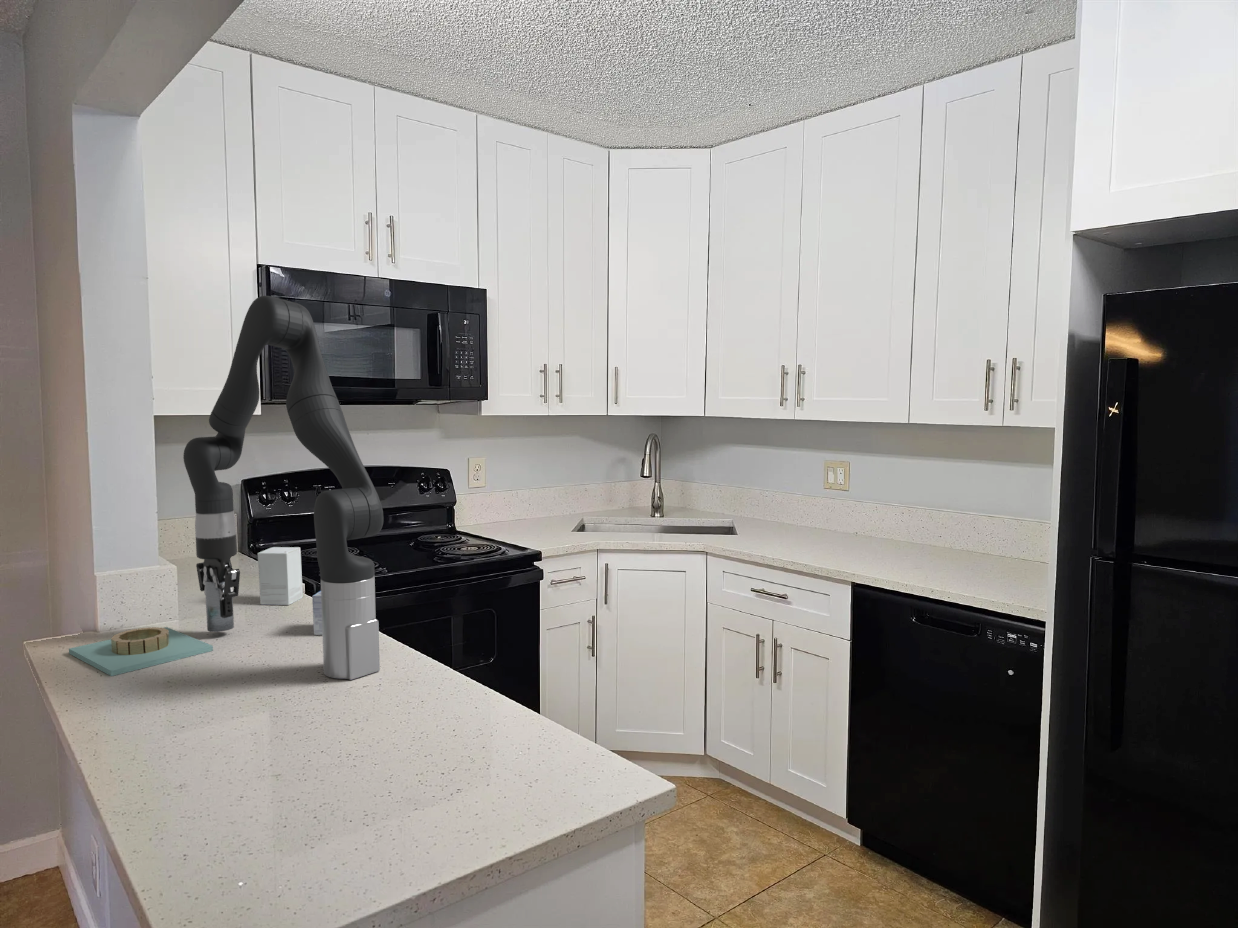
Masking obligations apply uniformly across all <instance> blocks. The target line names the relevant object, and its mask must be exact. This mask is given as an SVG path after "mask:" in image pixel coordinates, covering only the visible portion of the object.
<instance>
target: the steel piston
mask: <svg viewBox="0 0 1238 928" xmlns="http://www.w3.org/2000/svg"><path fill="white" fill-rule="evenodd" d="M220 584H225V582H222V583H220ZM223 592H224V588H223ZM204 596H205V609H206V629H207V631H208V632H211V633H212V632H213V633H220V632H226V631H229V630H232V629H234V628H235V621H234V619H235V618H234V614H233V615H232V616H231V617H227V618H222V617H221V615H220V597H219V593H218V590H216V589H215V584H214V582H212V581H210V580H209V581H205V594H204ZM233 600H234V598H232V607H233V608H234V602H233Z"/></svg>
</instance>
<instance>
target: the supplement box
mask: <svg viewBox="0 0 1238 928" xmlns="http://www.w3.org/2000/svg"><path fill="white" fill-rule="evenodd" d="M257 565H258V584H259V585H258V586H259V587H258V588H259V601H260V605H262V606H263V605H266V606H267V605H270V606H271V605H272V606H274V605H275V606H276V605H277V606H290V605H291V604H294V603H296V602H298V601H299V600H302V599H303V593H304V592H303V576H302V574H303V573H302V552H301V547H299V546H294V547H292V546H291V547H290V546H282V547H281V546H273V547H269V548H267V549H265V550H264V549H263V550H261V551H260V552H257Z"/></svg>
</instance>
